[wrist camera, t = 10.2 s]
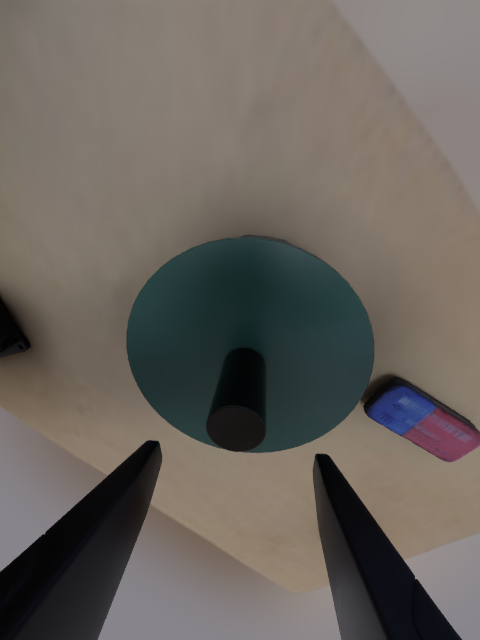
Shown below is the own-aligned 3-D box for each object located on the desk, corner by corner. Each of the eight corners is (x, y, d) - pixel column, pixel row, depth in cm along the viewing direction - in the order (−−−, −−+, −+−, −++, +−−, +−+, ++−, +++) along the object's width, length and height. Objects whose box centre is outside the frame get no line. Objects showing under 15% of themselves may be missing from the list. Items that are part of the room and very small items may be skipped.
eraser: (482, 428, 22) (500, 445, 21) (444, 454, 24) (458, 472, 22) (388, 368, 20) (399, 381, 19) (353, 399, 22) (361, 415, 20)
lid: (181, 449, 19) (149, 539, 13) (95, 273, 14) (-6, 310, 9) (375, 425, 16) (426, 526, 11) (353, 199, 11) (427, 188, 6)
